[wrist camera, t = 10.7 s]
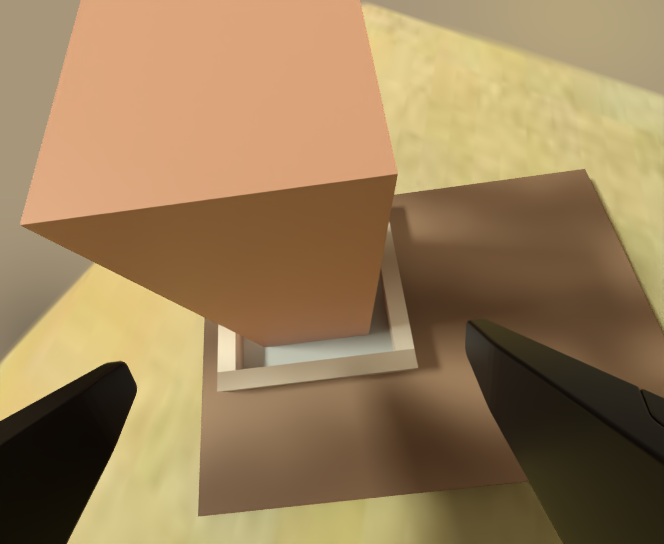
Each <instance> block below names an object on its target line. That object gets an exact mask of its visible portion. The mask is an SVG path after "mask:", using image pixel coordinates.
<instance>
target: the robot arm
mask: <svg viewBox="0 0 664 544" xmlns="http://www.w3.org/2000/svg"><path fill="white" fill-rule="evenodd" d="M465 351H466V355H467V358H468V360H469V363H470V365H471V367H472V370H473V372H474V375H475V377H476V379H477V382H478V384H479V387H480V389H481V391H482V394H483V396H484V399H485V401H486V403H487V406H488V408H489V410H490V412H491V414H492V416H493V418H494V419H495V421H496V423H497V425H498V427H499V428H500V430H501V432H502V434H503V436H504V438H505V439H506V441H507V443H508V445H509V447H510V448H511V450H512V452H513V454H514V456H515V457H516V459H517V461H518V463H519V465H520V466H521V468H522V470H523V472H524V474H525V475H526V477H527V479H528V481H529V483H530V485H531V486H532V488H533V490H534V492H535V494H536V495H537V497H538V499H539V501H540V503H541V504H542V506H543V508H544V510H545V512H546V513H547V515H548V517H549V519H550V521H551V522H552V524H553V526H554V528H555V530H556V531H557V533H558V535H559V537H560V539H561V541H562V542H563V544H664V398H663V397H661V396H659V395H657V394H654V393H652V392H650V391H648V390H645V389H641V390H640V388H639V387H638V386H636V385H634V384H632V383H629V382H627V381H625V380H623V379H620V378H618V377H616V376H613V375H611V374H609V373H607V372H604V371H602V370H600V369H598V368H595V367H593V366H591V365H589V364H586V363H584V362H582V361H580V360H577V359H575V358H573V357H571V356H568V355H566V354H564V353H562V352H559V351H557V350H555V349H552V348H550V347H548V346H546V345H543V344H541V343H539V342H537V341H534V340H532V339H530V338H528V337H525V336H523V335H521V334H519V333H516V332H514V331H512V330H510V329H507V328H505V327H503V326H501V325H498V324H496V323H494V322H491V321H489V320H487V319H484V318H480V319H471V320H468V321H467V323H466V333H465ZM136 393H137V385H136V383H135V380H134V378H133V376H132V374H131V372H130V370H129V368H128V366H127V364H126V363H125V362H122V361H117V362H109V363H105V364H103V365H102V366H100V367H98V368H96V369H94V370H92V371H91V372H89V373H87V374H85V375H83V376H82V377H80V378H78V379H76V380H74V381H72V382H71V383H69V384H67V385H65V386H63V387H62V388H60V389H58V390H56V391H54V392H52V393H51V394H49V395H47V396H45V397H43V398H42V399H40V400H38V401H36V402H34V403H32V404H31V405H29V406H27V407H25V408H23V409H22V410H20V411H18V412H16V413H14V414H12V415H11V416H9V417H7V418H5V419H3V420H2V421H0V544H67V542H68V540H69V538H70V536H71V534H72V532H73V530H74V528H75V526H76V525H77V523H78V521H79V519H80V517H81V515H82V513H83V511H84V509H85V507H86V505H87V503H88V501H89V499H90V497H91V495H92V493H93V491H94V489H95V487H96V485H97V483H98V481H99V479H100V477H101V475H102V473H103V471H104V469H105V467H106V465H107V463H108V461H109V459H110V457H111V455H112V453H113V451H114V448H115V446H116V444H117V441H118V439H119V436H120V434H121V431H122V429H123V426H124V424H125V421H126V419H127V416H128V414H129V411H130V409H131V406H132V404H133V401H134V399H135V396H136Z"/></svg>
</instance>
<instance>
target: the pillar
mask: <svg viewBox="0 0 664 544" xmlns="http://www.w3.org/2000/svg"><path fill="white" fill-rule="evenodd" d="M397 174H398V173H397V169H396V164H395V160H394V155H393V150H392V146H391V141H390V137H389V132H388V127H387V123H386V118H385V114H384V109H383V104H382V100H381V95H380V91H379V86H378V81H377V77H376V72H375V68H374V63H373V58H372V54H371V49H370V45H369V40H368V35H367V31H366V26H365V22H364V17H363V12H362V8H361V3H360V0H81V2H80V6H79V10H78V13H77V17H76V20H75V24H74V28H73V32H72V35H71V39H70V42H69V46H68V50H67V54H66V57H65V61H64V64H63V68H62V72H61V75H60V79H59V83H58V87H57V90H56V94H55V98H54V101H53V105H52V109H51V112H50V116H49V120H48V123H47V127H46V131H45V135H44V138H43V142H42V146H41V149H40V153H39V156H38V160H37V164H36V167H35V171H34V175H33V178H32V182H31V186H30V190H29V193H28V197H27V201H26V204H25V208H24V212H23V215H22V219H21V223H20V225H21V226H23V227H25V228H27V229H29V230H31V231H33V232H35V233H37V234H39V235H41V236H43V237H45V238H47V239H49V240H51V241H53V242H55V243H57V244H59V245H61V246H63V247H65V248H67V249H69V250H71V251H73V252H75V253H77V254H79V255H81V256H83V257H85V258H87V259H89V260H91V261H93V262H95V263H97V264H99V265H101V266H103V267H105V268H107V269H109V270H111V271H113V272H115V273H117V274H119V275H121V276H123V277H125V278H127V279H129V280H131V281H133V282H135V283H137V284H139V285H141V286H143V287H145V288H147V289H149V290H151V291H153V292H155V293H157V294H159V295H161V296H163V297H165V298H167V299H169V300H171V301H173V302H175V303H177V304H179V305H181V306H183V307H185V308H187V309H189V310H191V311H193V312H195V313H197V314H199V315H201V316H203V317H205V318H207V319H209V320H211V321H213V322H215V323H217V324H219V325H221V326H223V327H225V328H227V329H229V330H231V331H233V332H235V333H237V334H239V335H241V336H243V337H245V338H247V339H249V340H251V341H253V342H255V343H257V344H259V345H261V346H263V347H271V346H279V345H287V344H296V343H304V342H312V341H321V340H329V339H337V338H346V337H354V336H362V335H369V330H370V324H371V319H372V313H373V308H374V302H375V297H376V291H377V286H378V280H379V274H380V269H381V263H382V258H383V252H384V247H385V241H386V236H387V230H388V224H389V219H390V213H391V208H392V202H393V197H394V191H395V186H396V180H397Z"/></svg>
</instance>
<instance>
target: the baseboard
mask: <svg viewBox="0 0 664 544" xmlns="http://www.w3.org/2000/svg"><path fill="white" fill-rule="evenodd" d="M480 318H484V319H487V320H489V321H491V322H494V323H496V324H498V325H501V326H503V327H505V328H507V329H510V330H512V331H514V332H516V333H519V334H521V335H523V336H525V337H528V338H530V339H532V340H534V341H537V342H539V343H541V344H543V345H546V346H548V347H550V348H552V349H555V350H557V351H559V352H562V353H564V354H566V355H568V356H571V357H573V358H575V359H577V360H580V361H582V362H584V363H586V364H589V365H591V366H593V367H595V368H598V369H600V370H602V371H604V372H607V373H609V374H611V375H613V376H616V377H618V378H620V379H623V380H625V381H627V382H629V383H632V384H634V385H636V386H638V387H639V388H640V390H641V389H645V390H648V391H650V392H652V393H654V394H657V395H659V396H661V397H663V398H664V334H663V332H662V330H661V328H660V326H659V324H658V322H657V320H656V317H655V315H654V313H653V311H652V309H651V307H650V305H649V303H648V301H647V299H646V296H645V294H644V292H643V290H642V288H641V286H640V284H639V282H638V280H637V277H636V275H635V273H634V271H633V269H632V267H631V265H630V263H629V261H628V259H627V256H626V254H625V252H624V250H623V248H622V246H621V244H620V242H619V240H618V238H617V235H616V233H615V231H614V229H613V227H612V225H611V223H610V221H609V219H608V217H607V214H606V212H605V210H604V208H603V206H602V204H601V202H600V200H599V198H598V196H597V193H596V191H595V189H594V187H593V185H592V183H591V181H590V179H589V177H588V175H587V172H586V170H585V169H581V170H574V171H567V172H559V173H552V174H545V175H537V176H530V177H523V178H515V179H508V180H500V181H493V182H486V183H478V184H471V185H464V186H456V187H449V188H442V189H434V190H427V191H419V192H412V193H405V194H397V195H394V197H393V202H392V208H391V213H390V219H389V224H388V230H387V236H386V241H385V247H384V252H383V258H382V263H381V269H380V274H379V280H378V286H377V291H376V297H375V302H374V308H373V313H372V319H371V324H370V330H369V335H362V336H354V337H346V338H337V339H329V340H321V341H312V342H304V343H296V344H287V345H279V346H271V347H263V346H261V345H259V344H257V343H255V342H253V341H251V340H249V339H247V338H245V337H243V336H241V335H239V334H237V333H235V332H233V331H231V330H229V329H227V328H225V327H223V326H221V325H219V324H217V323H215V322H213V321H211V320H209V319H207V318H205V325H204V356H203V386H202V417H201V448H200V479H199V509H198V516H207V515H217V514H226V513H235V512H245V511H254V510H263V509H273V508H282V507H292V506H301V505H310V504H320V503H329V502H338V501H348V500H357V499H367V498H376V497H385V496H395V495H404V494H413V493H423V492H432V491H441V490H451V489H460V488H470V487H479V486H488V485H498V484H507V483H516V482H526V481H528V479H527V477H526V475H525V474H524V472H523V470H522V468H521V466H520V465H519V463H518V461H517V459H516V457H515V456H514V454H513V452H512V450H511V448H510V447H509V445H508V443H507V441H506V439H505V438H504V436H503V434H502V432H501V430H500V428H499V427H498V425H497V423H496V421H495V419H494V418H493V416H492V414H491V412H490V410H489V408H488V406H487V403H486V401H485V399H484V396H483V394H482V391H481V389H480V387H479V384H478V382H477V379H476V377H475V375H474V372H473V370H472V367H471V365H470V363H469V360H468V358H467V355H466V351H465V333H466V323H467V321H468V320H471V319H480Z"/></svg>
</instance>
